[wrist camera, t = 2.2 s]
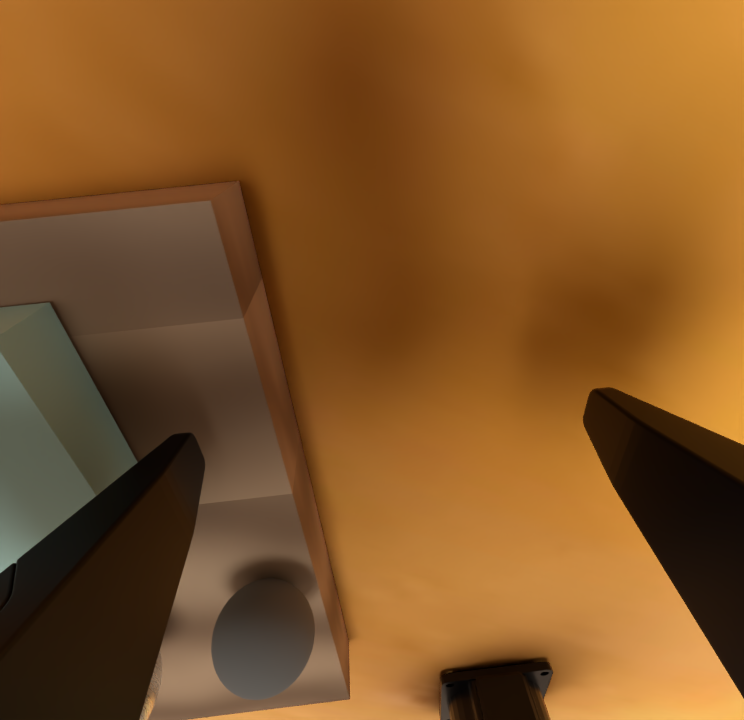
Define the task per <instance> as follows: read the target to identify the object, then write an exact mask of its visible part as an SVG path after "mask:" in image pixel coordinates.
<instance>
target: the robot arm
mask: <svg viewBox="0 0 744 720" xmlns="http://www.w3.org/2000/svg"><path fill="white" fill-rule="evenodd" d="M583 423H584V427H585V429H586V431H587V433H588V435H589V438H590V440H591V442H592V444H593V446H594V448H595V450H596V452H597V454H598V456H599V458H600V461H601V463H602V465H603V467H604V469H605V471H606V473H607V475H608V477H609V479H610V481H611V483H612V485H613V487H614V488H615V490H616V492H617V493H618V495H619V497H620V498H621V500H622V502H623V503H624V505H625V507H626V508H627V510H628V511H629V513H630V515H631V516H632V518H633V520H634V521H635V523H636V524H637V526H638V528H639V529H640V531H641V533H642V534H643V536H644V537H645V539H646V541H647V542H648V544H649V545H650V547H651V549H652V550H653V552H654V554H655V555H656V557H657V558H658V560H659V562H660V563H661V565H662V567H663V568H664V570H665V571H666V573H667V575H668V576H669V578H670V580H671V581H672V583H673V584H674V586H675V588H676V589H677V591H678V593H679V594H680V596H681V597H682V599H683V601H684V602H685V604H686V606H687V607H688V609H689V610H690V612H691V614H692V615H693V617H694V619H695V620H696V622H697V623H698V625H699V627H700V628H701V630H702V632H703V633H704V635H705V636H706V638H707V640H708V641H709V643H710V645H711V646H712V648H713V649H714V651H715V653H716V654H717V656H718V657H719V659H720V661H721V662H722V664H723V666H724V667H725V669H726V670H727V672H728V674H729V675H730V677H731V679H732V680H733V682H734V683H735V685H736V687H737V688H738V690H739V692H740V693H741V695H742V696H743V698H744V445H742V444H740V443H738V442H735V441H733V440H731V439H729V438H726V437H724V436H722V435H719V434H717V433H715V432H713V431H710V430H708V429H706V428H703V427H701V426H699V425H697V424H694V423H692V422H690V421H687V420H685V419H683V418H681V417H678V416H676V415H674V414H671V413H669V412H667V411H664V410H662V409H660V408H658V407H655V406H653V405H651V404H648V403H646V402H644V401H642V400H639V399H637V398H635V397H632V396H630V395H628V394H626V393H623V392H621V391H619V390H616V389H614V388H611V387H606V388H597V389H593V390H592V391H591V392H590V393H589V396H588V400H587V404H586V408H585V412H584V416H583ZM204 472H205V459H204V456H203V454H202V451H201V449H200V446H199V444H198V442H197V439H196V437H195V435H194V434H193V433H190V432H186V433H177V434H173V435H171V436H170V437H168V438H167V439H166V440H165V441H163V442H162V443H161V444H160V445H159V446H157V447H156V448H155V449H154V450H152V451H151V452H150V453H149V454H147V455H146V456H145V457H144V458H142V459H141V460H140V461H139V462H137V463H136V464H135V465H134V466H133V467H131V468H130V469H129V470H128V471H126V472H125V473H124V474H123V475H121V476H120V477H119V478H118V479H116V480H115V481H114V482H113V483H111V484H110V485H109V486H108V487H107V488H105V489H104V490H103V491H102V492H100V493H99V494H98V495H97V496H95V497H94V498H93V499H92V500H90V501H89V502H88V503H87V504H85V505H84V506H83V507H82V508H80V509H79V510H78V511H77V512H76V513H74V514H73V515H72V516H71V517H69V518H68V519H67V520H66V521H64V522H63V523H62V524H61V525H59V526H58V527H57V528H56V529H54V530H53V531H52V532H51V533H49V534H48V535H47V536H46V537H44V538H43V539H42V540H41V541H40V542H38V543H37V544H36V545H35V546H33V547H32V548H31V549H30V550H28V551H27V552H26V553H25V554H23V555H22V556H21V557H20V558H18V559H17V562H16V563H12V564H11V565H10V566H8V567H7V568H6V569H5V570H3V571H2V572H1V573H0V720H140V716H141V713H142V710H143V706H144V703H145V699H146V696H147V692H148V689H149V686H150V682H151V679H152V675H153V672H154V668H155V665H156V662H157V658H158V655H159V651H160V648H161V644H162V641H163V637H164V634H165V631H166V627H167V624H168V620H169V617H170V613H171V610H172V607H173V603H174V600H175V596H176V593H177V589H178V586H179V583H180V579H181V576H182V572H183V569H184V565H185V562H186V559H187V555H188V552H189V548H190V545H191V541H192V537H193V534H194V529H195V524H196V519H197V513H198V507H199V501H200V496H201V490H202V484H203V478H204ZM552 674H553V670H552V668H551V665H550V663H549V662H537V663H529V664H521V665H513V666H505V667H497V668H489V669H481V670H473V671H464V672H456V673H448V674H444V675H442V676H441V677H440V709H439V714H440V720H550V717H549V714H548V711H547V708H546V705H545V702H544V700H543V699H544V696H545V693H546V691H547V688H548V685H549V682H550V680H551V677H552Z"/></svg>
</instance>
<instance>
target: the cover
mask: <svg viewBox="0 0 744 720" xmlns="http://www.w3.org/2000/svg"><path fill="white" fill-rule="evenodd" d="M136 463H137V460H136V459H135V457H134V455H133V453H132V451H131V449H130V448H129V446H128V444H127V442H126V440H125V439H124V437H123V435H122V433H121V431H120V430H119V428H118V426H117V424H116V422H115V420H114V419H113V417H112V415H111V413H110V411H109V410H108V408H107V406H106V404H105V402H104V400H103V399H102V397H101V395H100V393H99V391H98V390H97V388H96V386H95V384H94V382H93V380H92V379H91V377H90V375H89V373H88V371H87V370H86V368H85V366H84V364H83V362H82V360H81V359H80V357H79V355H78V353H77V351H76V350H75V348H74V346H73V344H72V342H71V340H70V339H69V337H68V335H67V333H66V331H65V330H64V328H63V326H62V324H61V322H60V320H59V319H58V317H57V315H56V313H55V311H54V310H53V308H52V306H51V304H50V302H48V303H39V304H29V305H19V306H10V307H0V573H1V572H2V571H3V570H5V569H6V568H7V567H8V566H10V565H11V564H12V563H16V562H17V559H18V558H20V557H21V556H22V555H23V554H25V553H26V552H27V551H28V550H30V549H31V548H32V547H33V546H35V545H36V544H37V543H38V542H40V541H41V540H42V539H43V538H44V537H46V536H47V535H48V534H49V533H51V532H52V531H53V530H54V529H56V528H57V527H58V526H59V525H61V524H62V523H63V522H64V521H66V520H67V519H68V518H69V517H71V516H72V515H73V514H74V513H76V512H77V511H78V510H79V509H80V508H82V507H83V506H84V505H85V504H87V503H88V502H89V501H90V500H92V499H93V498H94V497H95V496H97V495H98V494H99V493H100V492H102V491H103V490H104V489H105V488H107V487H108V486H109V485H110V484H111V483H113V482H114V481H115V480H116V479H118V478H119V477H120V476H121V475H123V474H124V473H125V472H126V471H128V470H129V469H130V468H131V467H133V466H134V465H135V464H136Z"/></svg>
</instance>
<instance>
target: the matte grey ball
mask: <svg viewBox="0 0 744 720" xmlns="http://www.w3.org/2000/svg"><path fill="white" fill-rule="evenodd" d="M314 637H315V623H314V616H313V612H312V609H311V607H310V605H309V602H308V600H307V599H306V597H305V596H304V594H303V593H302V592H301V591H300V590H299V589H298V588H297V587H295V586H294V585H293V584H291V583H289V582H287V581H284V580H281V579H275V578H266V579H261V580H257V581H254V582H251V583H249V584H248V585H246V586H244V587H242V588H241V589H240V590H239V591H237V592H236V593H235V594H234V595H233V596H232V597H231V598H230V599H229V600H228V602H227V603H226V604H225V606H224V607H223V609H222V611H221V612H220V614H219V616H218V619H217V621H216V624H215V627H214V630H213V635H212V643H211V654H212V661H213V665H214V669H215V671H216V674H217V676H218V678H219V679H220V681H221V682H222V684H223V685H224V686H225V687H226V688H227V689H228V690H229V691H230V692H232V693H233V694H235V695H237V696H239V697H241V698H244V699H248V700H262V699H267V698H271V697H273V696H275V695H278V694H280V693H281V692H283V691H284V690H286V689H287V688H288V687H289V686H290V685H292V684H293V683H294V682H295V681H296V679H297V678H298V677H299V676H300V674H301V673H302V671H303V670H304V668H305V667H306V665H307V662H308V660H309V658H310V655H311V652H312V649H313V644H314Z"/></svg>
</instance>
